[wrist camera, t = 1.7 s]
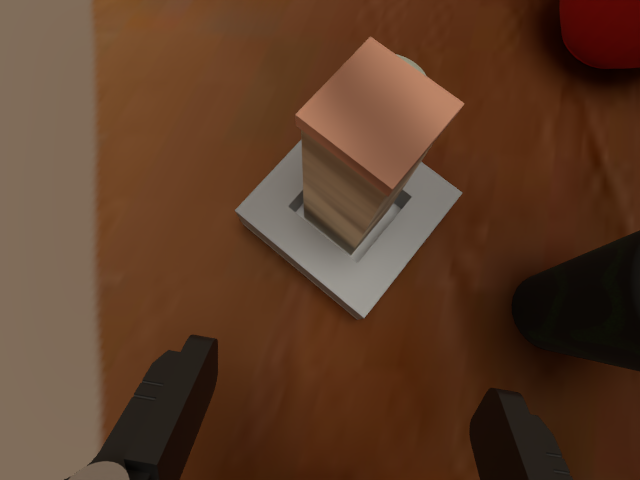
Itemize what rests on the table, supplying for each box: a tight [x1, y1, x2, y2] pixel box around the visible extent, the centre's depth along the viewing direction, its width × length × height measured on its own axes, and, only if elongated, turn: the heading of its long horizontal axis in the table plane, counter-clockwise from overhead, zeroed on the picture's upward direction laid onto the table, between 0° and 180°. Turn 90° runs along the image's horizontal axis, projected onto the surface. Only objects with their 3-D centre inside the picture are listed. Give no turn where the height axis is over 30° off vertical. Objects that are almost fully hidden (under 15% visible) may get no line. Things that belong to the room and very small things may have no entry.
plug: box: [295, 37, 464, 255], centre depth 22 cm, size 5×5×14 cm
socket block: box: [235, 139, 462, 320], centre depth 27 cm, size 11×11×3 cm
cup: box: [512, 231, 640, 371], centre depth 22 cm, size 8×8×12 cm
